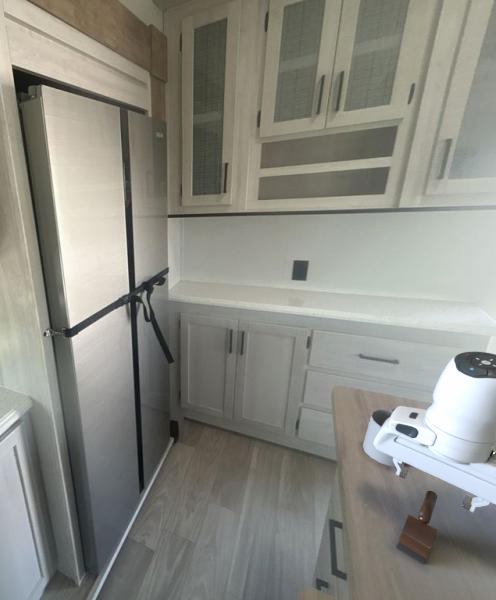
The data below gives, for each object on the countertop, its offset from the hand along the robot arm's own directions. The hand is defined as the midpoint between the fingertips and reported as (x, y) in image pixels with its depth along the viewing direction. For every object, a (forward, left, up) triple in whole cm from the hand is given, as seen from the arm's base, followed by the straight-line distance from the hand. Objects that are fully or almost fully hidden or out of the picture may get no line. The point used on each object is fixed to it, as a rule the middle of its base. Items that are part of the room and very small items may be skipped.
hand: (432, 490), depth 64 cm
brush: (0, +4, -8) cm, 9 cm away
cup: (+9, -14, -8) cm, 19 cm away
